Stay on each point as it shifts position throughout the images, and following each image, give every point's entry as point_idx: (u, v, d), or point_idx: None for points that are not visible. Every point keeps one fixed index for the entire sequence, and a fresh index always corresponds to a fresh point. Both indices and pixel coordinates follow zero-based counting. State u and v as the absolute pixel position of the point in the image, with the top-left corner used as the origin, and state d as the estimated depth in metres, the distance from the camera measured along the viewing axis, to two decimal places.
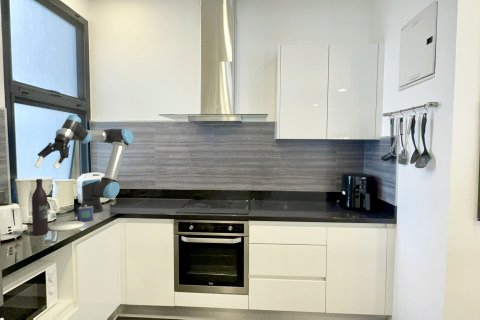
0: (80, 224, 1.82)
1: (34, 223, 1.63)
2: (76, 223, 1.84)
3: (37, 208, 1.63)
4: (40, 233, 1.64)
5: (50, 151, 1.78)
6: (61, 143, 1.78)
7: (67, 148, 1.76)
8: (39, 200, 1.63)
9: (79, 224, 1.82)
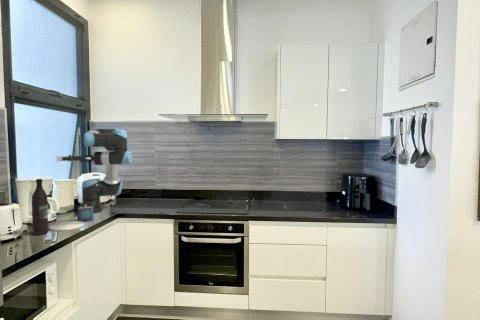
0: (80, 224, 1.82)
1: (34, 223, 1.63)
2: (76, 223, 1.84)
3: (37, 208, 1.63)
4: (40, 233, 1.64)
5: None
6: None
7: None
8: (39, 200, 1.63)
9: (79, 224, 1.82)
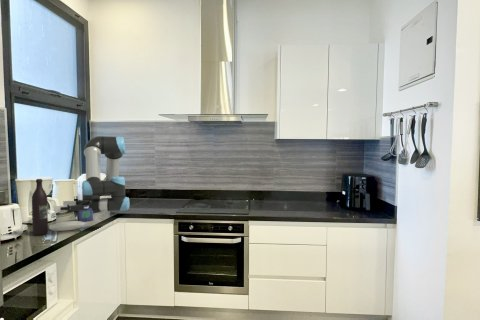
0: (80, 224, 1.82)
1: (34, 223, 1.63)
2: (76, 223, 1.84)
3: (37, 208, 1.63)
4: (40, 233, 1.64)
5: None
6: None
7: None
8: (39, 200, 1.63)
9: (79, 224, 1.82)
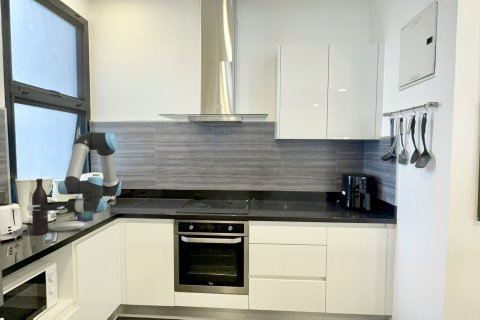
0: (80, 224, 1.82)
1: (34, 223, 1.63)
2: (76, 223, 1.84)
3: None
4: (40, 233, 1.64)
5: None
6: None
7: None
8: (39, 199, 1.63)
9: (79, 224, 1.82)
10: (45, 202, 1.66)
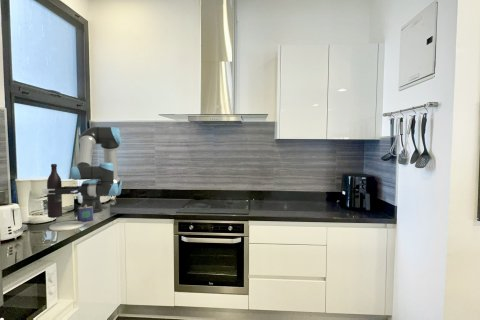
0: (80, 224, 1.82)
1: (49, 206, 1.70)
2: (76, 223, 1.84)
3: None
4: (55, 215, 1.71)
5: None
6: None
7: None
8: (54, 184, 1.70)
9: (79, 224, 1.82)
10: (59, 186, 1.73)
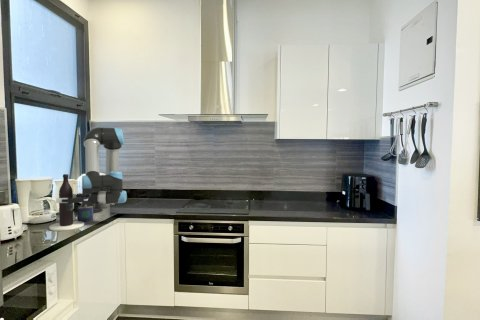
0: (80, 224, 1.82)
1: (61, 215, 1.77)
2: (76, 223, 1.84)
3: None
4: (66, 224, 1.78)
5: None
6: None
7: None
8: (66, 193, 1.77)
9: (79, 224, 1.82)
10: (71, 196, 1.79)
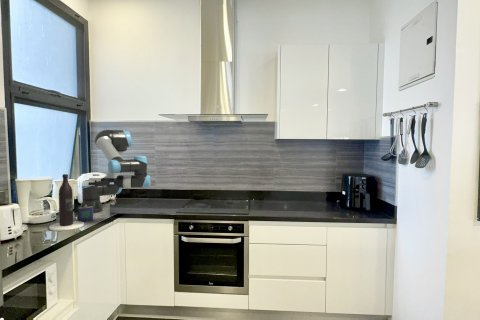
0: (80, 224, 1.82)
1: (61, 215, 1.77)
2: (76, 223, 1.84)
3: (63, 201, 1.76)
4: (66, 224, 1.78)
5: None
6: None
7: None
8: (66, 193, 1.77)
9: (79, 224, 1.82)
10: (71, 196, 1.79)
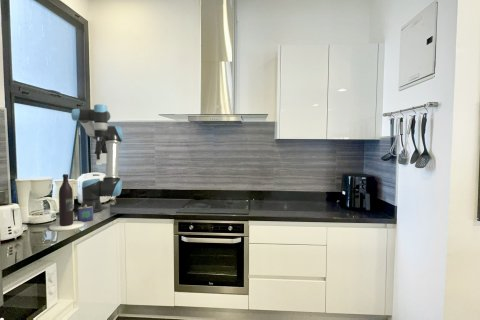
0: (80, 224, 1.82)
1: (61, 215, 1.77)
2: (76, 223, 1.84)
3: (63, 201, 1.76)
4: (66, 224, 1.78)
5: None
6: (103, 138, 1.91)
7: None
8: (66, 193, 1.77)
9: (79, 224, 1.82)
10: (71, 196, 1.79)
